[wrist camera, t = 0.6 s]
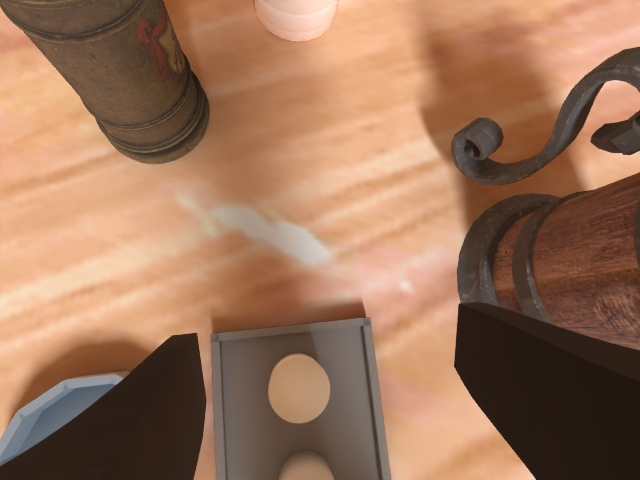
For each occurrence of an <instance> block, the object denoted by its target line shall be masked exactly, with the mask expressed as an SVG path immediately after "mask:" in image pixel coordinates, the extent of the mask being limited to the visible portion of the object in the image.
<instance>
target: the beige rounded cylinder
mask: <svg viewBox="0 0 640 480" xmlns="http://www.w3.org/2000/svg"><path fill="white" fill-rule="evenodd" d="M268 396H269V401H270V404H271V406H272V408H273V410H274V411H275V412H276V414H277V415H278V416H279V417H281V418H282V419H284V420H286V421H288V422H291V423H306V422H309V421H311V420H313V419H315V418H316V417H318V416H319V415H320V414H321V413H322V412H323V410H324V409H325V407H326V405H327V403H328V400H329V397H330V382H329V379H328V376H327V374H326V372H325V371H324V369H323V368H322V367H321V366H320V365H319V364H318V363H317V362H316V361H315V360H314V359H313V358H312V357H311V356H309V355H307V354H304V353H290V354H287V355H285V356H284V357H282V358H281V359H280V360H279V361H278V362H277V363H276V364H275V366H274V368H273V370H272V373H271V377H270V382H269V387H268Z"/></svg>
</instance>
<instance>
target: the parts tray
mask: <svg viewBox="0 0 640 480" xmlns="http://www.w3.org/2000/svg"><path fill="white" fill-rule="evenodd" d="M290 353H304V354H307V355H309V356H311V357H312V358H313V359H314V360H315V361H316V362H317V363H318V364H319V365H320V366H321V367H322V368H323V369H324V371H325V372H326V374H327V376H328V379H329V382H330V397H329V400H328V403H327V405H326V407H325V409H324V410H323V412H322V413H321V414H320V415H319V416H318V417H316V418H315V419H313V420H311V421H309V422H306V423H291V422H288V421H286V420H284V419H282V418H281V417H279V416H278V415H277V414H276V412H275V411H274V410H273V408H272V406H271V404H270V401H269V396H268V387H269V382H270V377H271V373H272V370H273V368H274V366H275V364H276V363H277V362H278V361H279V360H280V359H281V358H282V357H284V356H285V355H287V354H290ZM211 356H212V379H213V403H214V427H215V450H216V474H217V480H278V476H279V472H280V469H281V467H282V465H283V464H284V462H285V461H286V460H287V459H288V458H289V457H290V456H291V455H293V454H294V453H296V452H299V451H305V450H308V451H314V452H316V453H318V454H320V455H321V456H323V457H324V458H325V459H326V461H327V462H328V464H329V466H330V468H331V471H332V474H333V477H334V479H335V480H391V474H390V466H389V458H388V451H387V443H386V435H385V427H384V420H383V412H382V404H381V396H380V389H379V381H378V373H377V365H376V358H375V350H374V342H373V334H372V327H371V319H370V317H364V318H354V319H345V320H336V321H326V322H317V323H307V324H298V325H289V326H279V327H270V328H260V329H251V330H242V331H232V332H223V333H213V334H211Z"/></svg>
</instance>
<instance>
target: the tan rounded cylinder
mask: <svg viewBox="0 0 640 480" xmlns="http://www.w3.org/2000/svg"><path fill="white" fill-rule="evenodd" d="M278 480H335V479H334V477H333V474H332V471H331V468H330V466H329V464H328V462H327V461H326V459H325V458H324V457H323V456H321V455H320V454H318V453H316V452H314V451H308V450H305V451H299V452H296V453H294V454H293V455H291V456H290V457H289V458H288V459H287V460H286V461H285V462H284V464H283V465H282V467H281V469H280V472H279V476H278Z"/></svg>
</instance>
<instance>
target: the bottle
mask: <svg viewBox="0 0 640 480" xmlns="http://www.w3.org/2000/svg"><path fill="white" fill-rule="evenodd" d="M338 2H339V0H255V9H256V12H257V15H258V18H259V21H260V22H261V23H262V24H263V25H264V27H265V28H266V29H267V30H268V31H269V32H271V33H273V34H274V35H276V36H277V37H279V38H282V39H286V40H290V41H308V40H311V39H314V38H316V37H319V36H321V35H322V34H323V33H324V32H325V31H326V30H328V29H329V28H330V26H331V24H332V22H333V20H334V18H335V13H336V8H337V6H338Z"/></svg>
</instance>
